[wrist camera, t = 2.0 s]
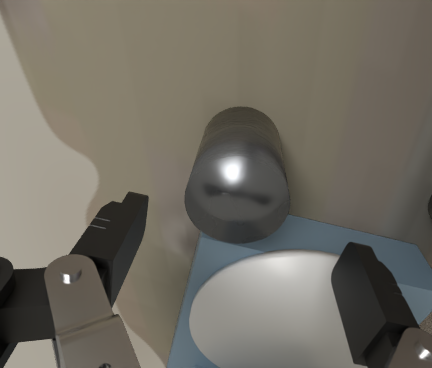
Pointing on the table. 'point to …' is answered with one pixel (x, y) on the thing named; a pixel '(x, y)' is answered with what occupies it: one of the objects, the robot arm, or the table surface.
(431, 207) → the cylinder
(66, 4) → the table surface
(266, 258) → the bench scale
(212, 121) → the cylinder
